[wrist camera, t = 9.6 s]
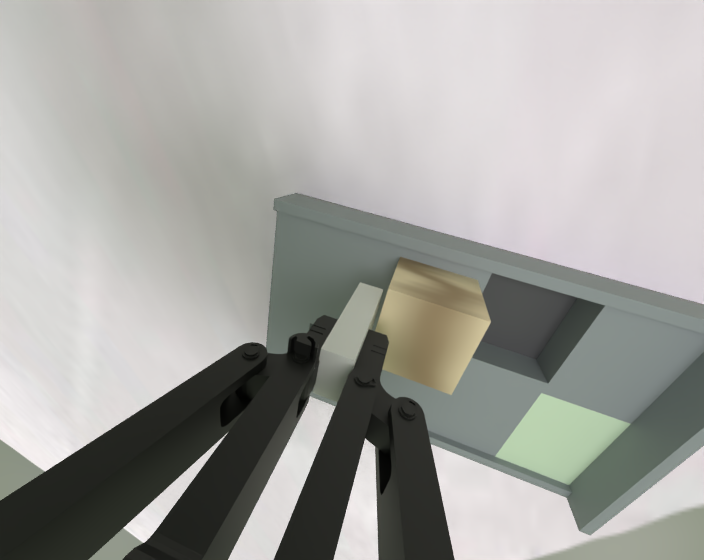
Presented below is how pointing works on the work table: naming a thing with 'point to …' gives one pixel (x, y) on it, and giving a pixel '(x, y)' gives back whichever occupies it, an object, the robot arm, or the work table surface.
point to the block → (431, 324)
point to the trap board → (518, 355)
